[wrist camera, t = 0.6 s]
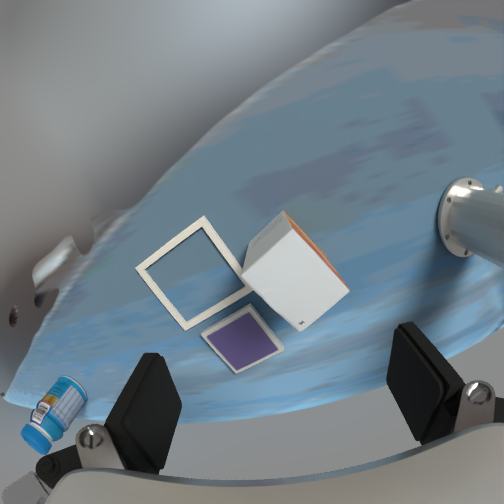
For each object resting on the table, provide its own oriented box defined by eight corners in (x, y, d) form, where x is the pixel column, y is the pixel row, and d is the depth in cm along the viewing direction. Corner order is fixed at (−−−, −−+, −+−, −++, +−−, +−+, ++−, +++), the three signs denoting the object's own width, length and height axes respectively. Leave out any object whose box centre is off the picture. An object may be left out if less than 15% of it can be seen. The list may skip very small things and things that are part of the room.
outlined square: (204, 215, 35) (203, 215, 35) (256, 287, 38) (256, 288, 37) (136, 267, 38) (135, 268, 37) (185, 329, 40) (185, 330, 40)
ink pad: (250, 302, 38) (250, 307, 37) (284, 346, 40) (284, 350, 39) (201, 331, 40) (200, 335, 39) (236, 369, 42) (236, 374, 41)
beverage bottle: (92, 393, 47) (52, 455, 28) (83, 405, 49) (47, 461, 30) (64, 368, 46) (17, 424, 27) (57, 383, 48) (16, 434, 28)
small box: (324, 252, 36) (352, 292, 23) (289, 283, 37) (300, 335, 25) (282, 207, 35) (292, 226, 22) (247, 241, 36) (238, 278, 24)
